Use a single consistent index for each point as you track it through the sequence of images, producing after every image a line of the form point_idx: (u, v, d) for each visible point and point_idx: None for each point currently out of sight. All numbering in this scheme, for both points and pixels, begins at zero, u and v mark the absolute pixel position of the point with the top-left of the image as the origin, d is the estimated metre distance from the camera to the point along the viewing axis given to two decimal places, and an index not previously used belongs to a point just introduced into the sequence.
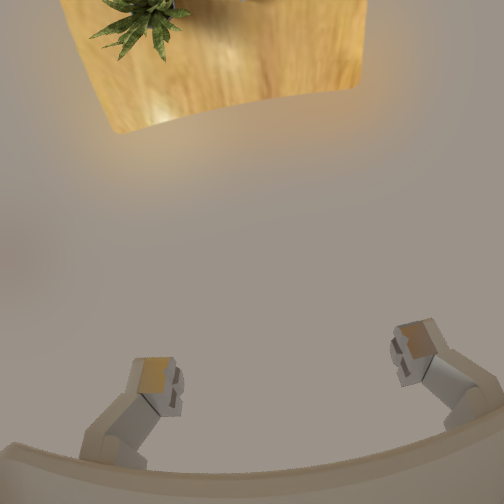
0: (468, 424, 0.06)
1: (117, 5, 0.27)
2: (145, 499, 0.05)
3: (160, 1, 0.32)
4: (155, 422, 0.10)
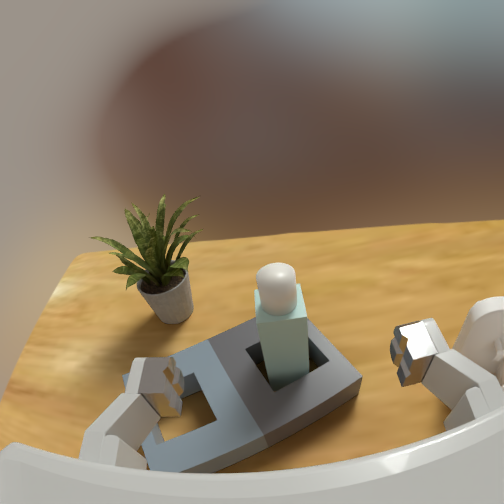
0: (468, 424, 0.06)
1: (180, 211, 0.36)
2: (145, 499, 0.05)
3: None
4: (155, 422, 0.10)
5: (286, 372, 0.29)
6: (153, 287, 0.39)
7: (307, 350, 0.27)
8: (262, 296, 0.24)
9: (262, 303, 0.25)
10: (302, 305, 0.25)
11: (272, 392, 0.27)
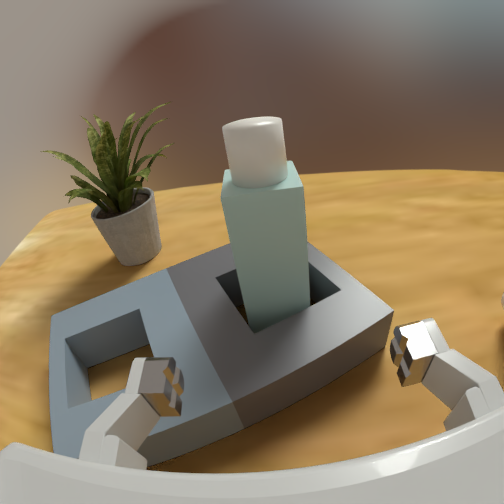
0: (468, 424, 0.06)
1: (146, 117, 0.27)
2: (145, 499, 0.05)
3: (121, 193, 0.27)
4: (155, 422, 0.10)
5: (275, 306, 0.19)
6: (110, 214, 0.29)
7: (306, 261, 0.17)
8: (231, 153, 0.15)
9: (232, 170, 0.16)
10: (295, 176, 0.16)
11: (251, 334, 0.17)
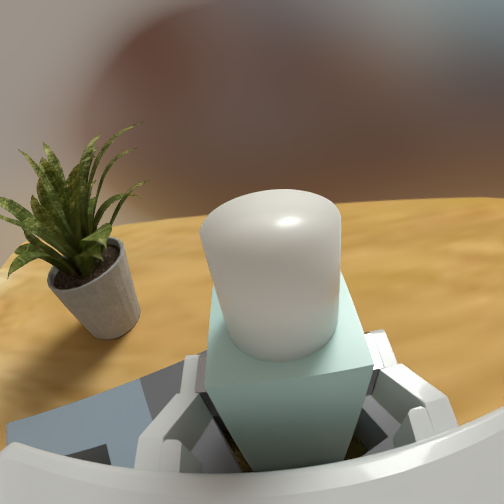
0: (468, 424, 0.06)
1: (107, 146, 0.19)
2: (145, 499, 0.05)
3: (78, 256, 0.19)
4: (208, 422, 0.10)
5: (294, 465, 0.11)
6: (70, 278, 0.21)
7: (350, 433, 0.09)
8: (222, 296, 0.07)
9: (226, 320, 0.07)
10: (354, 324, 0.08)
11: None
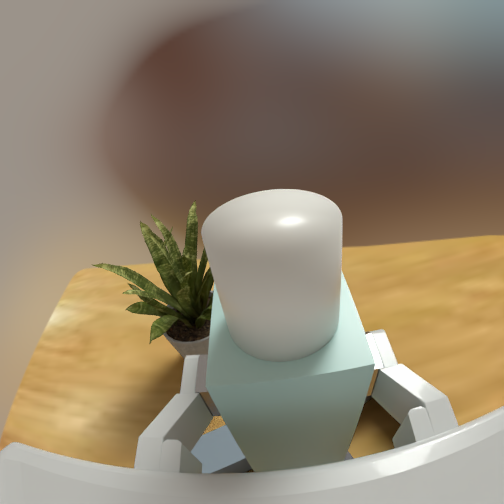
0: (468, 424, 0.06)
1: None
2: (145, 499, 0.05)
3: (200, 316, 0.27)
4: (208, 422, 0.10)
5: (295, 465, 0.11)
6: (183, 329, 0.29)
7: (351, 433, 0.09)
8: (224, 296, 0.07)
9: (227, 319, 0.07)
10: (355, 323, 0.08)
11: None
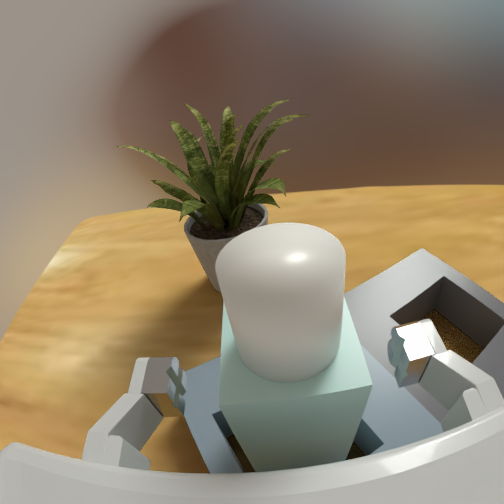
0: (468, 424, 0.06)
1: (264, 114, 0.23)
2: (145, 499, 0.05)
3: (237, 207, 0.23)
4: (158, 422, 0.10)
5: None
6: (212, 233, 0.25)
7: (350, 442, 0.10)
8: (236, 326, 0.07)
9: (238, 344, 0.08)
10: (355, 346, 0.08)
11: None
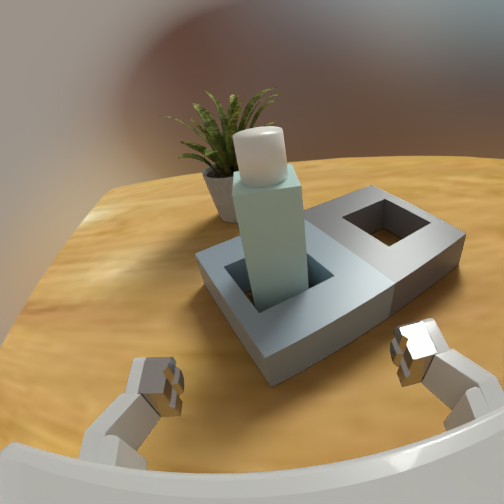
0: (468, 424, 0.06)
1: (257, 97, 0.34)
2: (145, 499, 0.05)
3: None
4: (155, 422, 0.10)
5: (278, 290, 0.22)
6: (222, 176, 0.36)
7: (304, 249, 0.20)
8: (240, 158, 0.18)
9: (241, 172, 0.19)
10: (294, 177, 0.19)
11: (387, 247, 0.24)
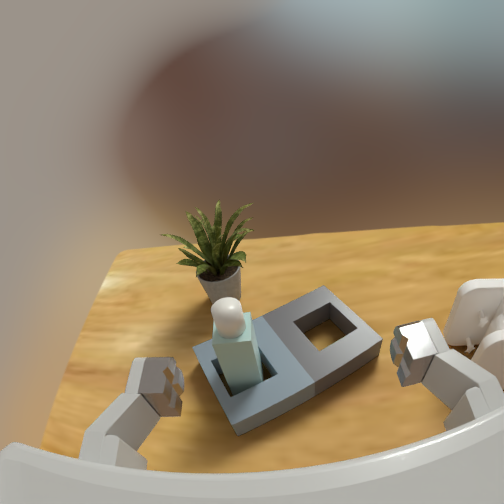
0: (468, 424, 0.06)
1: (237, 214, 0.46)
2: (145, 499, 0.05)
3: (223, 265, 0.47)
4: (155, 422, 0.10)
5: (242, 381, 0.35)
6: (211, 276, 0.49)
7: (256, 365, 0.33)
8: (216, 324, 0.31)
9: (217, 328, 0.31)
10: (249, 330, 0.32)
11: (317, 351, 0.37)
